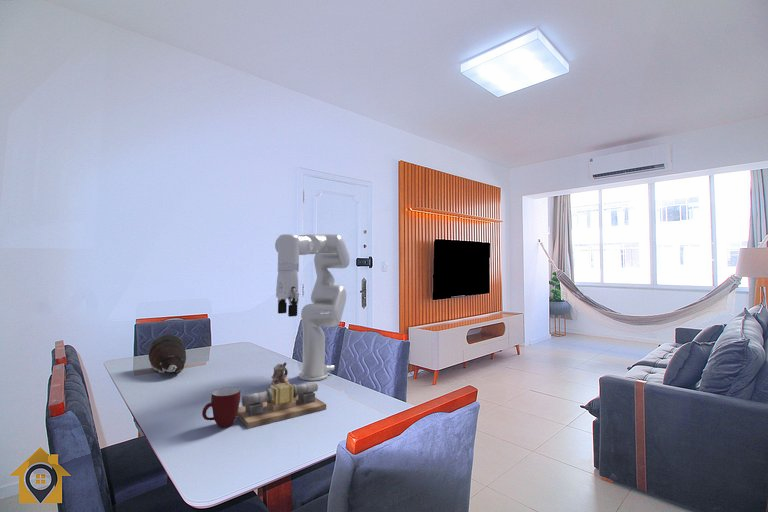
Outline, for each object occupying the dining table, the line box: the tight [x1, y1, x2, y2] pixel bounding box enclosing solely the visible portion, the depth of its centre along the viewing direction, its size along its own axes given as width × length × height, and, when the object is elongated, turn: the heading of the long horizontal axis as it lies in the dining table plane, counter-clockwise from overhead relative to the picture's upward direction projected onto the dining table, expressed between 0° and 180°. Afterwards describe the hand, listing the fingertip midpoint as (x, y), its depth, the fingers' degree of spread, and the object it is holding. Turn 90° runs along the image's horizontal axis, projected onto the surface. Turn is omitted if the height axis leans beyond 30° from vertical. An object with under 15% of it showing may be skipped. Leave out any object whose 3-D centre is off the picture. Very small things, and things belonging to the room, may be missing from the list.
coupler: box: [269, 382, 294, 405], centre depth 124 cm, size 6×5×5 cm
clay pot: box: [148, 334, 187, 376], centre depth 166 cm, size 15×15×25 cm
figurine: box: [270, 361, 290, 385], centre depth 138 cm, size 7×7×12 cm
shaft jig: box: [236, 381, 327, 429], centre depth 124 cm, size 26×14×8 cm, turn 127°
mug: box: [201, 386, 241, 429], centre depth 112 cm, size 10×8×10 cm
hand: (287, 314), depth 137 cm, fingers open, 9 cm apart
